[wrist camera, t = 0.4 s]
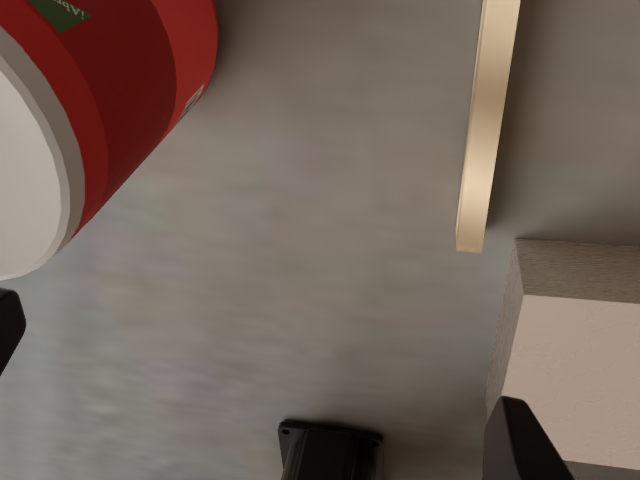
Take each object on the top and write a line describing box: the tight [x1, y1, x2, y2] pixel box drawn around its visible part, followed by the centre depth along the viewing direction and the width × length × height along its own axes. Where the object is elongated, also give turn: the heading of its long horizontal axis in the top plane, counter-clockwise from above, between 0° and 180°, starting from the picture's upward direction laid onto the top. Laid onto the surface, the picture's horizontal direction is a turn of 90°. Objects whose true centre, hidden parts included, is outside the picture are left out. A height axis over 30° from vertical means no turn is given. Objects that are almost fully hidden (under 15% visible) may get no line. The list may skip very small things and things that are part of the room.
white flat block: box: [485, 238, 640, 470], centre depth 25 cm, size 10×9×4 cm
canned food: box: [0, 0, 219, 280], centre depth 17 cm, size 8×8×11 cm
